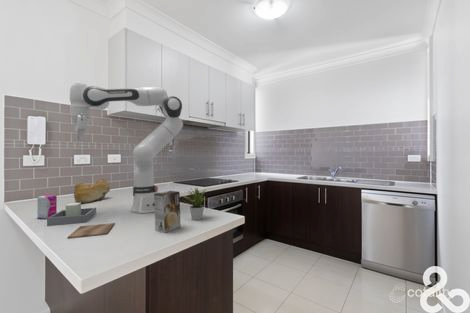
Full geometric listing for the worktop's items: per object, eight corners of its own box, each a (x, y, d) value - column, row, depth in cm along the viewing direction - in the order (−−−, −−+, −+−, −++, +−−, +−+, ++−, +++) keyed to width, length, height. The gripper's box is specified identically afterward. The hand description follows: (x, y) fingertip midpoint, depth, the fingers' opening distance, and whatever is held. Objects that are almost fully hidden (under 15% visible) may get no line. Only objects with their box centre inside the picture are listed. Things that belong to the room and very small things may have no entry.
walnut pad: (114, 224, 105) (114, 222, 105) (107, 234, 92) (107, 232, 92) (80, 227, 101) (80, 226, 101) (67, 238, 88) (67, 237, 88)
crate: (96, 213, 124) (96, 207, 124) (86, 222, 109) (86, 215, 109) (62, 216, 119) (62, 210, 119) (47, 225, 104) (46, 218, 104)
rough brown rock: (99, 197, 175) (97, 178, 175) (113, 197, 167) (111, 177, 167) (66, 205, 154) (64, 183, 154) (80, 205, 147) (77, 182, 147)
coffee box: (170, 224, 104) (170, 190, 104) (180, 227, 100) (180, 191, 100) (154, 230, 96) (153, 193, 96) (164, 233, 93) (163, 194, 92)
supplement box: (46, 219, 115) (45, 197, 115) (37, 218, 116) (36, 196, 116) (57, 216, 121) (56, 195, 120) (48, 215, 122) (47, 194, 122)
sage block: (81, 217, 117) (80, 202, 117) (77, 220, 113) (77, 204, 112) (70, 218, 116) (69, 203, 116) (65, 221, 111) (65, 205, 111)
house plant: (199, 212, 124) (199, 183, 124) (217, 217, 115) (217, 185, 115) (178, 218, 113) (177, 186, 113) (196, 224, 104) (196, 189, 104)
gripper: (89, 111, 114) (89, 138, 115) (85, 117, 130) (85, 140, 131) (74, 110, 110) (74, 138, 111) (71, 116, 126) (72, 140, 127)
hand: (80, 139), depth 121 cm, fingers open, 8 cm apart
